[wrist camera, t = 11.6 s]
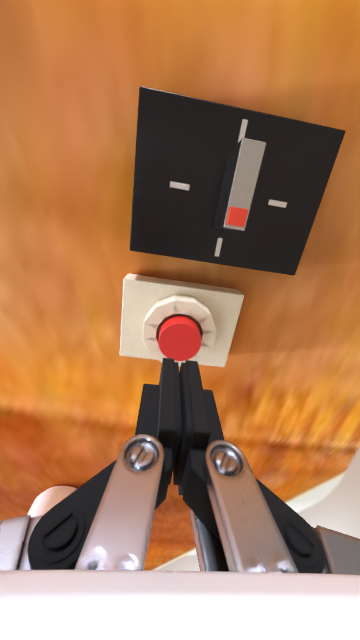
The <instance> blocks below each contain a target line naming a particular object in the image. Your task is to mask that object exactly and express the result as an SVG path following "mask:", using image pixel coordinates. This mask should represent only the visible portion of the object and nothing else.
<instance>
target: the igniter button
mask: <svg viewBox="0 0 360 640" xmlns="http://www.w3.org/2000/svg"><path fill="white" fill-rule="evenodd" d="M158 345H159V348H160V351H161V352H162V353H163V355H164V356H166V357H167V358H173V359H174V361H185V360H188V359H190V358H192V357H194V356H195V355H196V354H197V353H198V351H199V350H200V347H201V336H200V332H199V328H198V326H197V324H196V323H195V322H194V321H193V320H192V319H191V318H189V317H186V316H181V315H178V316H173V317H170V318H168V319H167V320H166V321H165V322H164V323H163V324H162V326H161V328H160V332H159V340H158Z"/></svg>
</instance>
